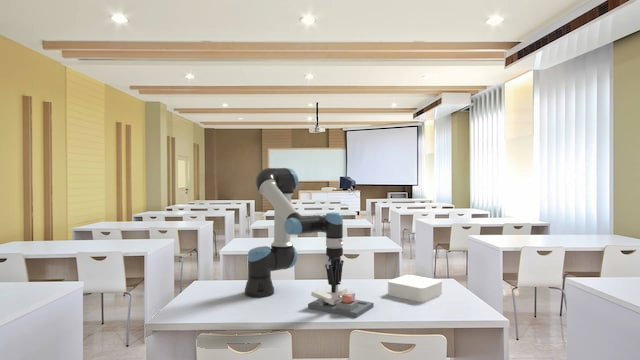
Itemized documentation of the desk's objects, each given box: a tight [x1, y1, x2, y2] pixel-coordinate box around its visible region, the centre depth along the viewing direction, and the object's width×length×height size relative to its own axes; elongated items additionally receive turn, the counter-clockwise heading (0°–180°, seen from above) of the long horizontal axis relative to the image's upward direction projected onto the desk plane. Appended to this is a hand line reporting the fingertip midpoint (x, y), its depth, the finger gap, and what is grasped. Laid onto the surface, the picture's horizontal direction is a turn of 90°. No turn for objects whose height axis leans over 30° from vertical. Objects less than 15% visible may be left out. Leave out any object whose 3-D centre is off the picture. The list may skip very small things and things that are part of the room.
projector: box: [387, 274, 443, 303], centre depth 217 cm, size 21×22×7 cm
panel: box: [307, 294, 375, 319], centre depth 195 cm, size 25×17×5 cm
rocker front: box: [310, 288, 339, 305], centre depth 195 cm, size 12×5×2 cm, turn 58°
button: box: [341, 293, 352, 304], centre depth 189 cm, size 5×5×4 cm
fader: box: [348, 292, 356, 300], centre depth 198 cm, size 2×3×3 cm, turn 148°
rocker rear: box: [322, 288, 349, 297], centre depth 201 cm, size 12×5×2 cm, turn 58°
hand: (334, 299), depth 192 cm, fingers closed
